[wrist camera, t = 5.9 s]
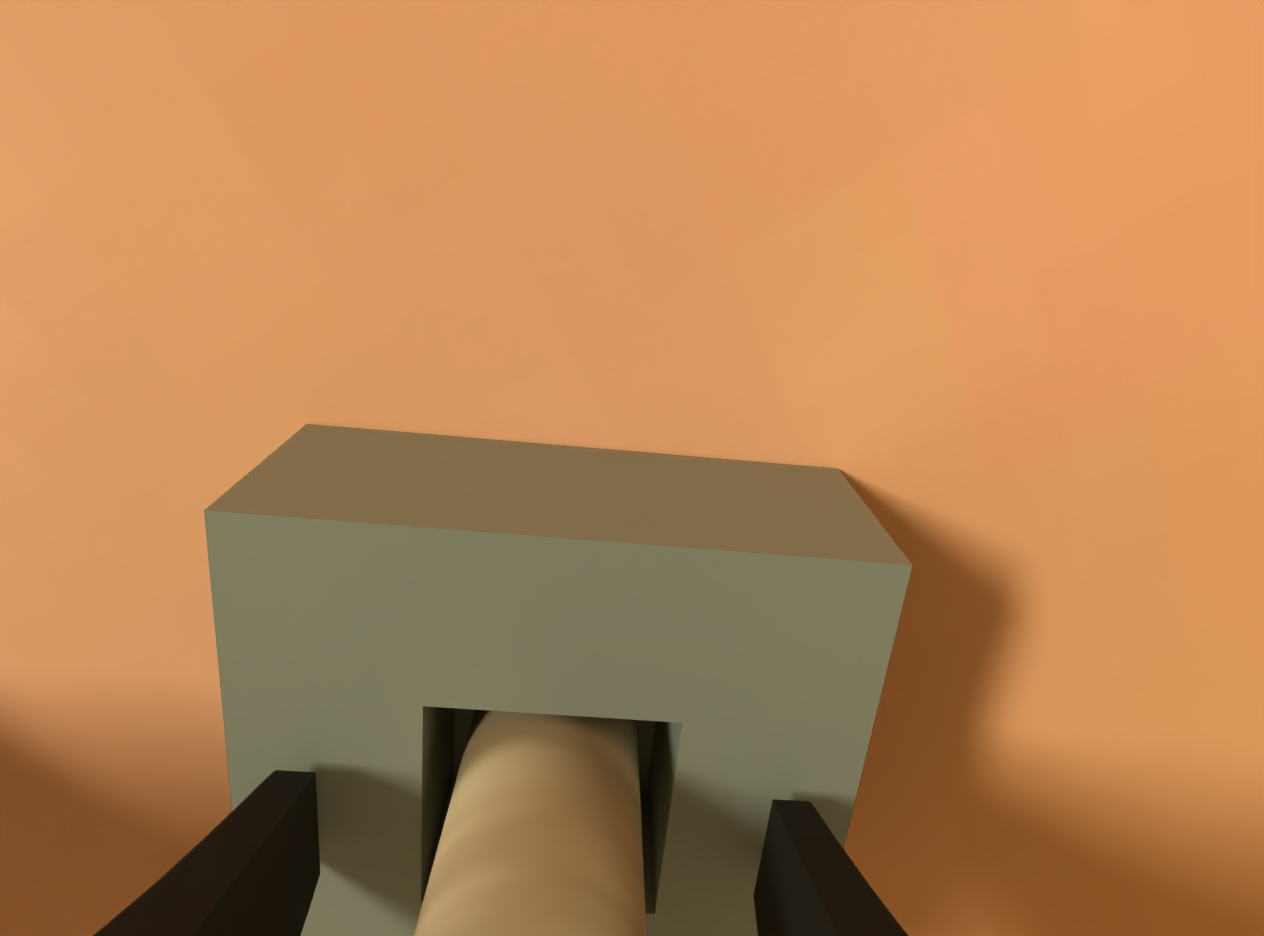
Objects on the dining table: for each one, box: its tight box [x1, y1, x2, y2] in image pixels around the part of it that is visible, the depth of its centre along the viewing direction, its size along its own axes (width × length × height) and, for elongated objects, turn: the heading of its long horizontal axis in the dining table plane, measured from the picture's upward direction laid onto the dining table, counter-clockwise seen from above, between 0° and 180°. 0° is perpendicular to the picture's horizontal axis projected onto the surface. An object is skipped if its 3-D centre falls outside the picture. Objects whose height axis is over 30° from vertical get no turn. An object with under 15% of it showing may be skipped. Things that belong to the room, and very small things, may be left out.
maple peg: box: [414, 710, 647, 936], centre depth 12 cm, size 3×3×7 cm
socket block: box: [204, 424, 913, 936], centre depth 15 cm, size 10×10×4 cm
